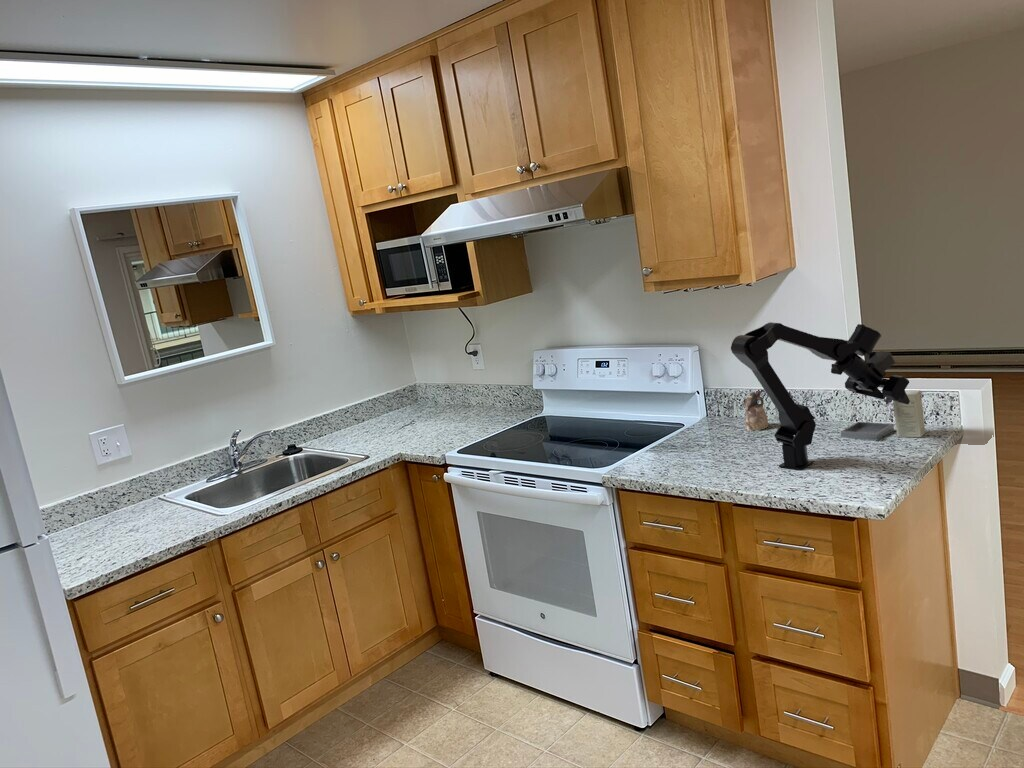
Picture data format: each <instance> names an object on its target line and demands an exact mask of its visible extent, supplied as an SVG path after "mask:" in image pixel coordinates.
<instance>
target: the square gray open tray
mask: <svg viewBox="0 0 1024 768" xmlns="http://www.w3.org/2000/svg"><path fill="white" fill-rule="evenodd" d="M894 431H895V427H894V423H879V422H868V421H867V422H866V421H857V422H855V423H854V424H851V425H850V426H848V427H846V428H844V429H843V430H840V438H841V437H847V438H846V439H852V438H858V439H857V440H864V439H869V440H868V441H875V440H877V441H879V440H881V439H883V438H884V437H886V436H887V435H890V432H891V433H892V432H894ZM885 435H886V436H885ZM883 436H884V437H883ZM880 438H881V439H880Z"/></svg>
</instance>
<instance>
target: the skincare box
mask: <svg viewBox="0 0 1024 768" xmlns="http://www.w3.org/2000/svg"><path fill="white" fill-rule="evenodd" d="M905 392H906V394H907V396H908V398H909V400H910V402H909V404H904V403H900V402H897V401H893V400H892V403H893V404H892V405H893V411H894V420H895V421H894V422H895V429H896V430H895V431H896V437H897V436H898V438H900V437H901V438H921V437H923V436H924V435H925V434H926V427H925V419H924V409H923V402H922V401H923V399H922V392H921V390H905Z"/></svg>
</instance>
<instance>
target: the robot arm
mask: <svg viewBox="0 0 1024 768" xmlns="http://www.w3.org/2000/svg"><path fill="white" fill-rule="evenodd" d="M881 338H882V334H881V333H880V331H878V330H875V329H874V328H871V327H868V326H866V325H864V324H862V323H860V324H859V323H858V324H857V325H856V327H855V329H854V331H853V332H852V334H851V336H849V338H848V340H847V339H841V338H835V337H834V338H833V337H823V336H819V335H815V334H814V335H813V334H811V333H808V332H805V331H803V330H798V329H795V328H793V327H790V326H786V325H784V324H782V323H781V322H780V323H779V322H770V321H769V322H767V323H765V324H764V325H762V326H759V327H758V328H755V329H753V330H750V331H748V332H747V333H745V334H740V335H737V336H735V338H734V339H732V342H731V346H730V351H731V353H732V354H733V355H734V356H735V358H736V359H737V360H738V361H739V362H741V363H742V364H743V365H745V366H746V367H747V368H749V369H750V370H751V372H752V373H753V374H754V376H755V378H756V379H757V381H758V382H759V384H760V385H761V387H762V388H763V390H764V392H765V393H766V395H767V396H768V397H769V399H770V400H771V403H773V405H774V406H775V408H776V410H777V411H778V421H779V423H780V425H779V427H778V429H777V430H776V431H775V433H774V434H773V436H774V438H775V440H776V442H778V443H782V445H781V448H782V449H781V450H782V457H783V462H781V463H780V464H779V465H778V467H779V468H785V469H792V470H801V471H802V470H803V469H805V468H807V467H808V466H810V465H812V464H813V463H814V460H812V459H811V460H810V459H809V456H808V448H807V447H808V446H809V445H810V446H811V444H812V441H813V437H814V433H815V430H816V427H817V424H816V421H815V419H816V416H814V415H813V414H812V412H811V410H810V409H809V407H808V406H807V405H803V404H799V403H796V402H795V401H794V399H793V397H792V396H791V394H790V393H789V391H788V390H787V388H786V386H785V385H784V384H783V382H782V380H781V379H780V377H779V376H778V374H777V373H776V371H775V369H774V368H773V366H772V365H771V363H770V362H769V352H768V349H771V348H772V347H773V346H774V345H775V344H776V342H777V341H781V342H784V343H787V344H791V345H794V346H797V347H799V348H803V349H806V350H808V351H809V352H810V353H812V354H813V355H815V356H817V357H818V358H820V359H822V360H828V361H835V362H834V363H832V364H831V369H830V373H831V374H833V375H840V376H841V375H843V374H845V375H846V376H848V377H847V379H846V381H845V382H844V388H845V389H846V390H847V391H849V392H853V393H855V394H859V395H863V396H866V397H867V396H868V397H872V398H875V399H877V400H878V399H879V400H884V399H885V398H886V399H887V400H890V401H892V402H893V401H897V402H900V403H904V404H909V402H910V400H909V398H908V396H907V394H906V392H905V391H906V389H907V387H908V385H909V384H910V380H909V379H908V378H907V377H906V376H905V375H898V374H894V375H890V376H889V378H885V377H886V376H887V372H886V370H888V369H889V368H890V367H892V366H893V365H895V364H896V360H895V358H894V356H893V354H892V353H891V352H890V351H882V350H880V351H875V352H874V351H873V350H874V349H875V347H876V345H877V344H878V342H879V341H880V339H881ZM862 357H864V358H862ZM879 388H881V390H880V389H879Z"/></svg>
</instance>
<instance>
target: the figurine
mask: <svg viewBox="0 0 1024 768" xmlns="http://www.w3.org/2000/svg"><path fill="white" fill-rule="evenodd" d="M761 394H762V391H761V390H758V391H757V392H756V393H755V391H753V390H752V391H749V392H748V393H747V395H745V401H744V403H743V405H744V408H745V411H746V412H745V423H744V426H745V427H744V430H745V429H747V430H746V431H748V430H751V431H750V432H753V431H752V430H760V431H762V430H761V429H764V430H766V429H768V428H767V427H769V420H768V416H767V413H766V411H765V409H764V404H765V403H764V400H763V398H762V396H761ZM759 401H760V403H759ZM765 428H766V429H765Z"/></svg>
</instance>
